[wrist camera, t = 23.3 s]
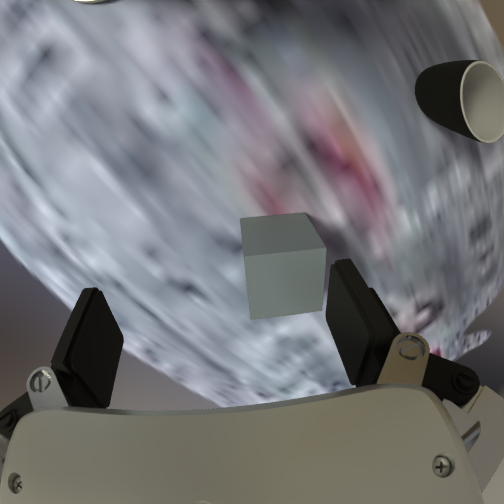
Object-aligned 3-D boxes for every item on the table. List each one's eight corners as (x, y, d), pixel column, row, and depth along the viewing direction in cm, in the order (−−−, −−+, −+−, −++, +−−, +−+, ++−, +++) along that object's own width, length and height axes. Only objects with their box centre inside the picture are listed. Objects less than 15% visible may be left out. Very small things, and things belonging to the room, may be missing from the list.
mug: (419, 136, 31) (472, 155, 22) (395, 70, 27) (448, 69, 18) (476, 110, 29) (527, 123, 20) (457, 50, 25) (510, 51, 16)
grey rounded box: (239, 218, 35) (244, 256, 27) (304, 212, 35) (326, 247, 27) (245, 273, 39) (250, 319, 31) (304, 267, 39) (322, 310, 31)
